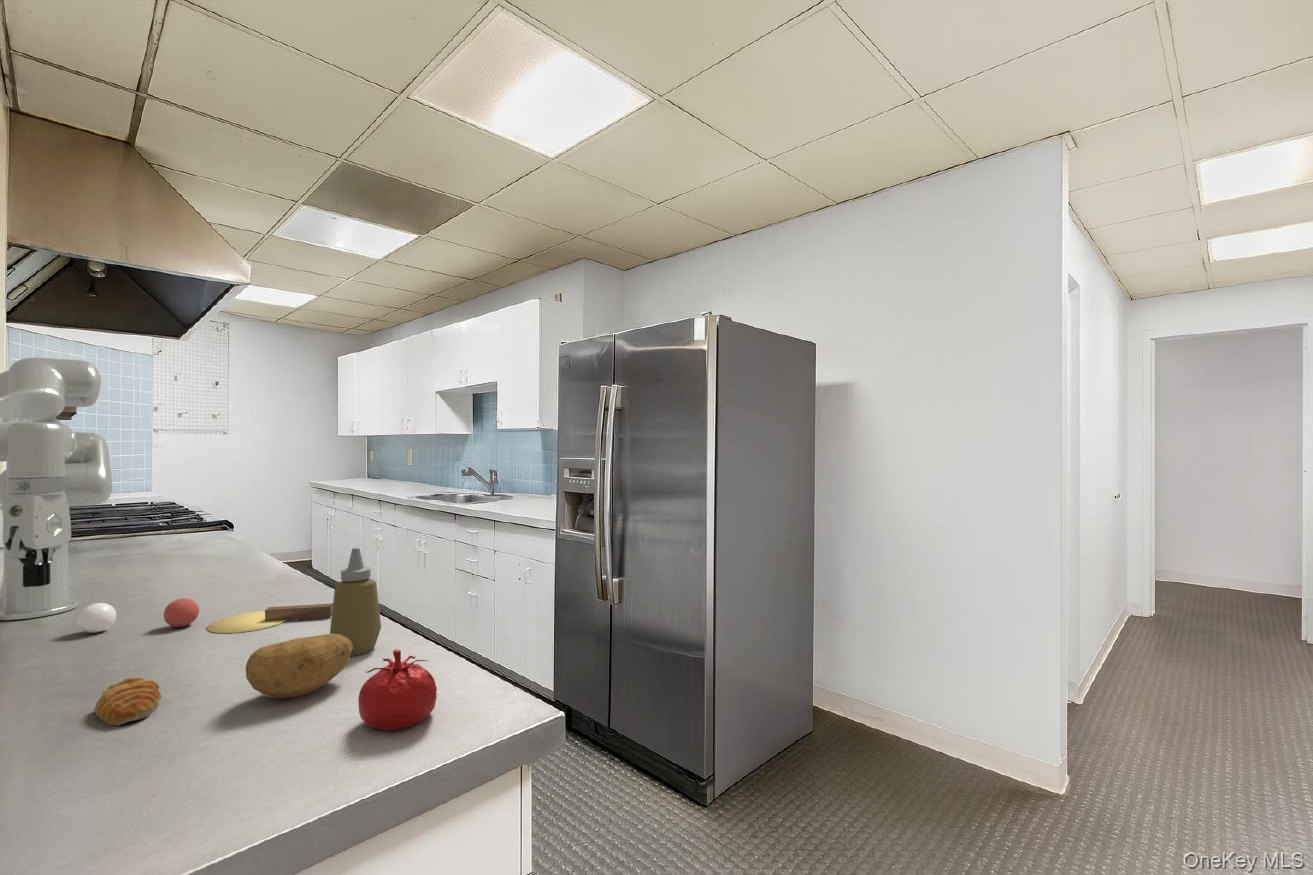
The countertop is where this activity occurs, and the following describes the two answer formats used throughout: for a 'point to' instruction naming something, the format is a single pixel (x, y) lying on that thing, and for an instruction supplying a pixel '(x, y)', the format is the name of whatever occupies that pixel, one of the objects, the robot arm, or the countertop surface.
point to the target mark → (242, 623)
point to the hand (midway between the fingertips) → (36, 585)
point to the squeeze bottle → (356, 606)
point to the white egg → (96, 617)
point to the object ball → (181, 612)
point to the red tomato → (397, 695)
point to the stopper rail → (299, 612)
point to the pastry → (128, 701)
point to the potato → (297, 665)
